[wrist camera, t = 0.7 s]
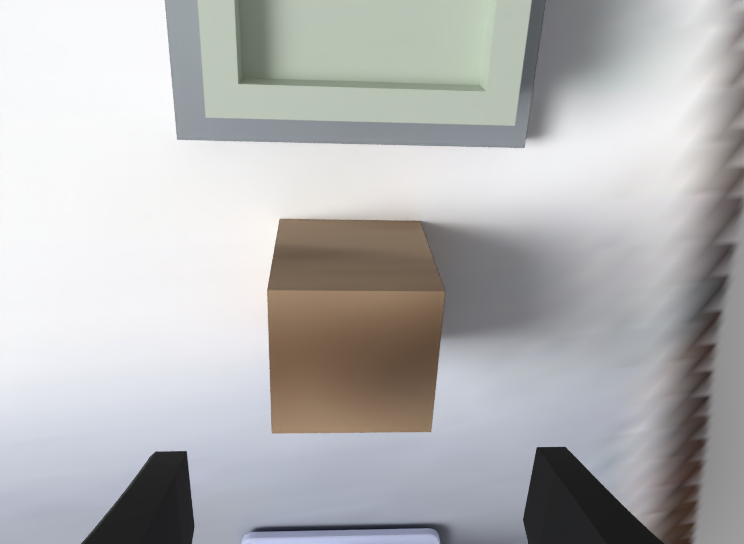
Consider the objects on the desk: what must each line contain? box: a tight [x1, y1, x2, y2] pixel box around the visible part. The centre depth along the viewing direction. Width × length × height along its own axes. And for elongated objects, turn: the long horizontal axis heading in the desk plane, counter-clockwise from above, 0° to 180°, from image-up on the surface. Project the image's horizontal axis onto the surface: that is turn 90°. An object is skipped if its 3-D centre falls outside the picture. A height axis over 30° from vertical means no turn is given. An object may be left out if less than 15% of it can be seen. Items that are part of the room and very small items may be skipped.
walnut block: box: [267, 219, 445, 433], centre depth 20 cm, size 4×4×5 cm
